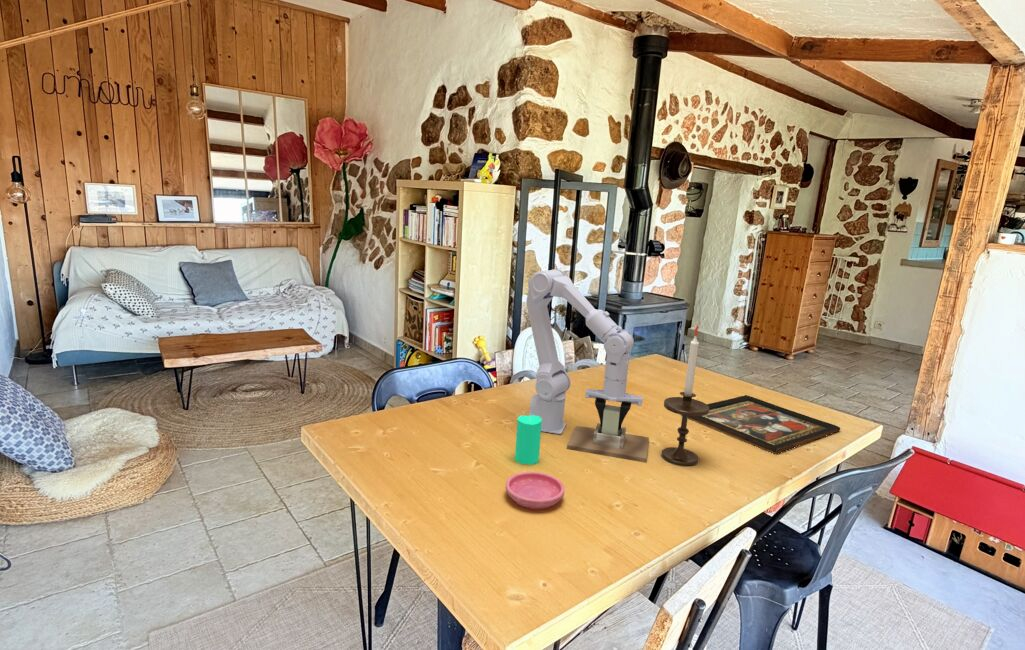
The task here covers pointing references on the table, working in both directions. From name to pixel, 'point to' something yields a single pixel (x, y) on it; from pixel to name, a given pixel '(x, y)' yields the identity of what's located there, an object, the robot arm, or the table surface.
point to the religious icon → (763, 424)
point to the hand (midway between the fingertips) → (610, 427)
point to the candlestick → (685, 412)
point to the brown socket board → (609, 443)
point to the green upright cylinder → (528, 439)
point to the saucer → (535, 489)
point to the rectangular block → (611, 420)
